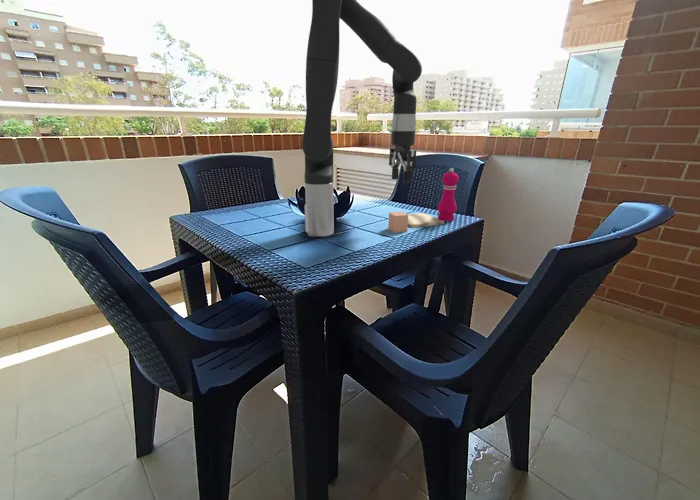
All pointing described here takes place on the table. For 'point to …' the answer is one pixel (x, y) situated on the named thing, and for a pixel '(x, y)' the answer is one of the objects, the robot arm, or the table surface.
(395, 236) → the table surface
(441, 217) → the pepper mill
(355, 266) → the table surface
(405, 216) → the terracotta block
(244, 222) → the table surface
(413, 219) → the birch board
